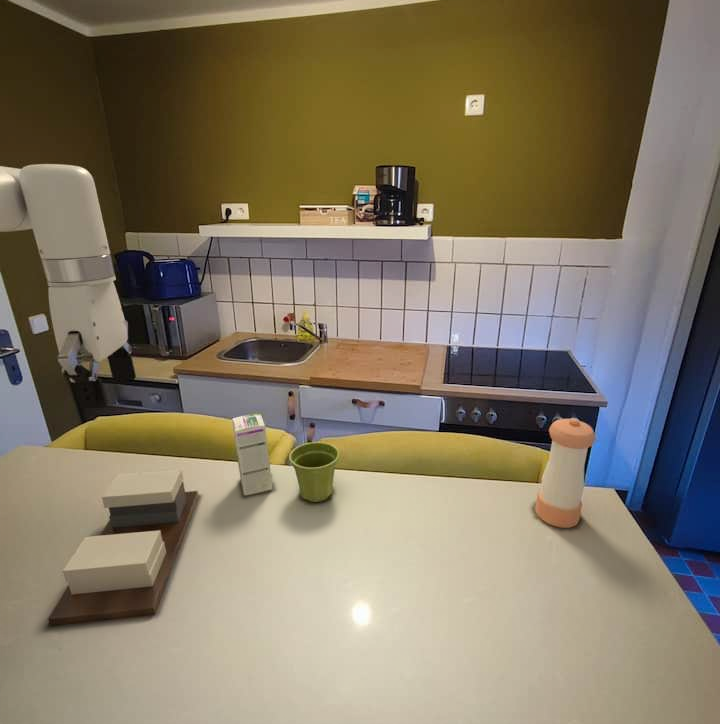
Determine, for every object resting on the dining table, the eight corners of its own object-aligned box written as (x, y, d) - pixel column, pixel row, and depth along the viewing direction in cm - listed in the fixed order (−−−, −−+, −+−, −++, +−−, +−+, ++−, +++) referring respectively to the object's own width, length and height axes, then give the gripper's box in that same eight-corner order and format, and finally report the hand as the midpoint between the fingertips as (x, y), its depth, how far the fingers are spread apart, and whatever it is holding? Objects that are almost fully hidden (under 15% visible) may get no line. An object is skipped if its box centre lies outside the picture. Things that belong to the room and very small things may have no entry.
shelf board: (49, 625, 57) (47, 619, 57) (125, 501, 81) (124, 496, 81) (155, 614, 59) (153, 607, 58) (198, 495, 83) (197, 490, 83)
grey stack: (111, 527, 73) (105, 505, 71) (124, 507, 78) (118, 486, 76) (179, 522, 74) (174, 500, 73) (187, 502, 79) (183, 481, 78)
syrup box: (273, 489, 85) (267, 424, 79) (242, 497, 83) (234, 430, 77) (268, 474, 90) (261, 411, 84) (239, 480, 88) (231, 417, 82)
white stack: (70, 594, 60) (62, 571, 59) (91, 559, 67) (85, 536, 65) (152, 586, 62) (147, 562, 60) (166, 552, 68) (161, 530, 66)
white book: (104, 508, 71) (101, 497, 70) (120, 484, 77) (117, 473, 76) (173, 502, 72) (171, 491, 71) (183, 479, 78) (181, 469, 78)
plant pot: (287, 484, 86) (284, 446, 83) (332, 474, 89) (330, 438, 86) (298, 513, 78) (295, 472, 75) (346, 501, 81) (345, 462, 78)
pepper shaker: (584, 530, 73) (606, 431, 67) (540, 525, 74) (557, 428, 68) (571, 502, 80) (590, 410, 73) (531, 499, 81) (545, 408, 74)
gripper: (83, 263, 63) (110, 372, 69) (4, 283, 47) (48, 423, 53) (136, 262, 63) (158, 369, 69) (76, 280, 47) (112, 418, 53)
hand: (110, 392), depth 61 cm, fingers open, 9 cm apart
